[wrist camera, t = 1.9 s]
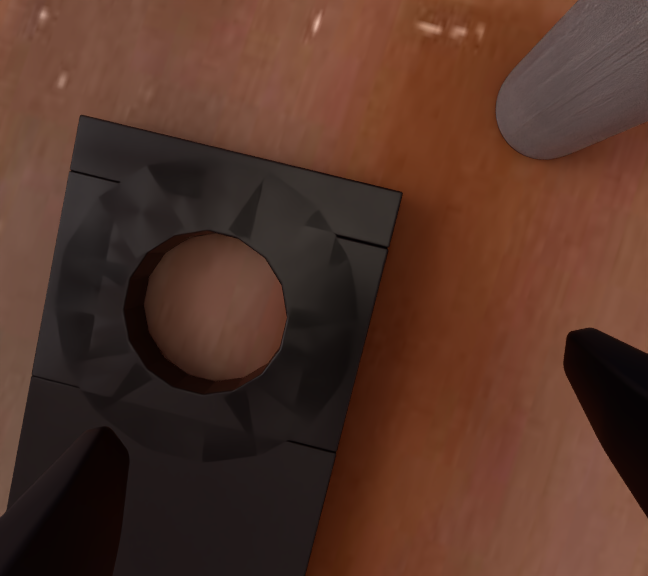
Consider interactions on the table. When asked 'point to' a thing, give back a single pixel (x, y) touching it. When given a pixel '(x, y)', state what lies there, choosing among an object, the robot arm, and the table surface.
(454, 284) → the table surface
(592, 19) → the planter
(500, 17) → the table surface
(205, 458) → the plant stand
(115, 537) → the robot arm
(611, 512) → the table surface
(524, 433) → the table surface
